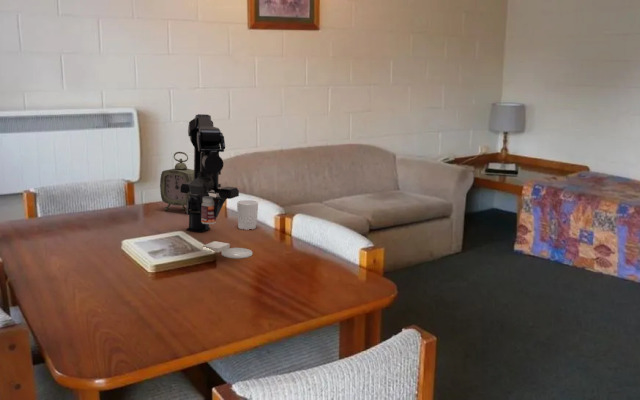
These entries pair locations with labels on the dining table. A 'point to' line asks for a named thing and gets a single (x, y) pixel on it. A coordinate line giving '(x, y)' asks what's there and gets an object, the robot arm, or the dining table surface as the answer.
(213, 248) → the tile
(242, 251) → the coaster
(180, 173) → the tabletop clock
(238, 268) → the dining table surface
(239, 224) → the white cup
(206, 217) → the pill bottle
